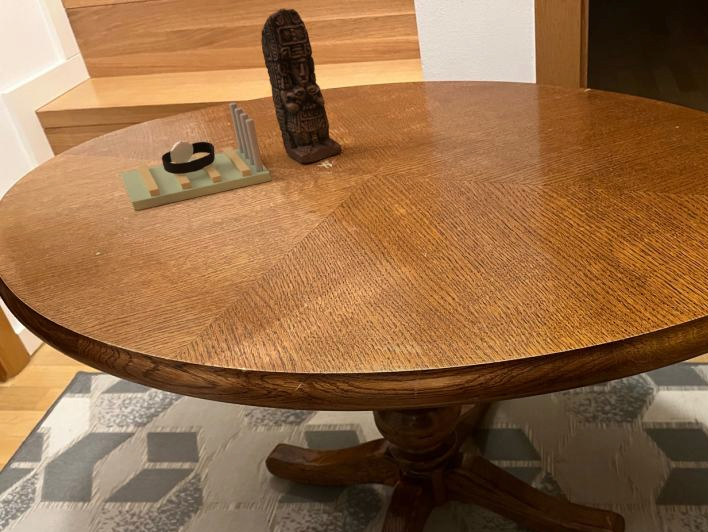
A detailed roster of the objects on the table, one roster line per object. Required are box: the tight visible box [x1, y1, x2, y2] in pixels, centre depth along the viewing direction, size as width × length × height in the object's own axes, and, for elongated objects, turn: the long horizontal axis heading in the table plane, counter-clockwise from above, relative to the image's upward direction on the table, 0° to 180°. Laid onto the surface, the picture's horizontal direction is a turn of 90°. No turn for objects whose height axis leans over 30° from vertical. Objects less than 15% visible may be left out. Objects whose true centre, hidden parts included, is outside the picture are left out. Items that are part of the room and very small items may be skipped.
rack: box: [119, 102, 272, 212], centre depth 99 cm, size 18×12×8 cm, turn 118°
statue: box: [260, 8, 342, 164], centre depth 103 cm, size 7×7×20 cm
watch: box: [161, 139, 216, 174], centre depth 99 cm, size 8×5×4 cm, turn 143°
